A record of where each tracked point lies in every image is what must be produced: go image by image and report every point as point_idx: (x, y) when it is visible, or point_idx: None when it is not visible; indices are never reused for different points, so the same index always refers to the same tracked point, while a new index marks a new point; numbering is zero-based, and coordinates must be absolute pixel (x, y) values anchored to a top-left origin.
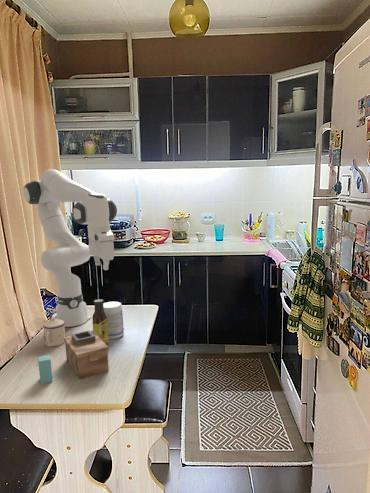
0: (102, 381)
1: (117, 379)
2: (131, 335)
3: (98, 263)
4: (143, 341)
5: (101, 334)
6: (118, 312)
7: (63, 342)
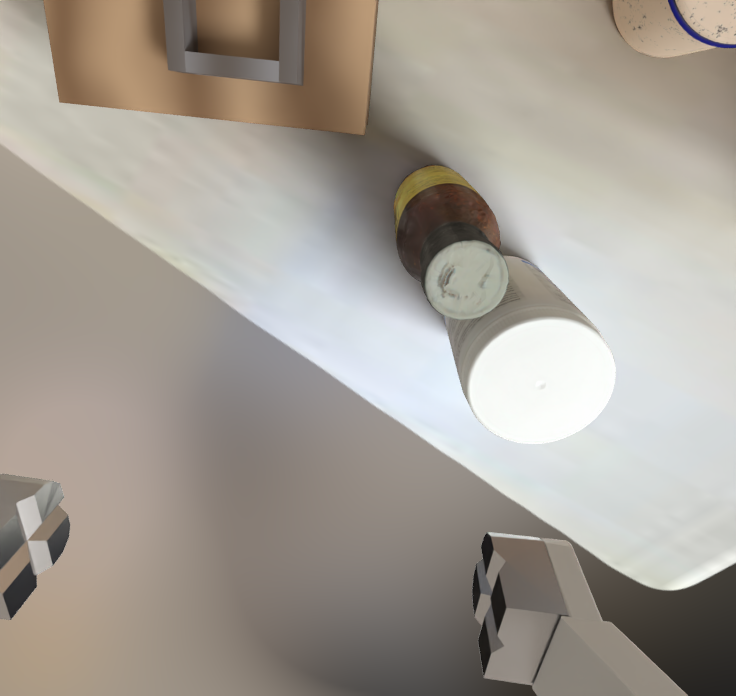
0: None
1: (41, 94)
2: (432, 365)
3: (494, 600)
4: (335, 370)
5: (396, 204)
6: (459, 378)
7: (617, 24)
